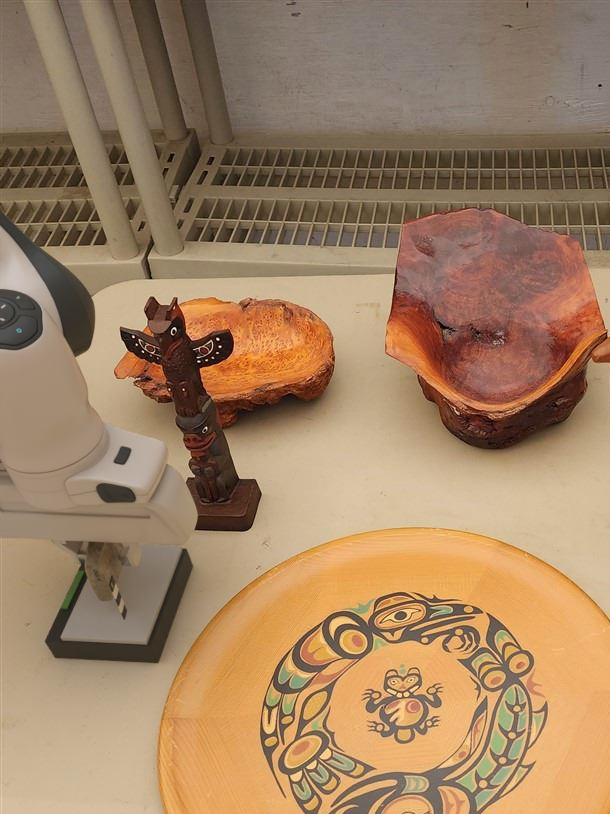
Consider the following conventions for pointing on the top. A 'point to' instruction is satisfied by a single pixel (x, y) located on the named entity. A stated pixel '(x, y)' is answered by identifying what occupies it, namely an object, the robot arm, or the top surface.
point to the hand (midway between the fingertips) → (110, 560)
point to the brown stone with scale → (105, 571)
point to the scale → (144, 600)
